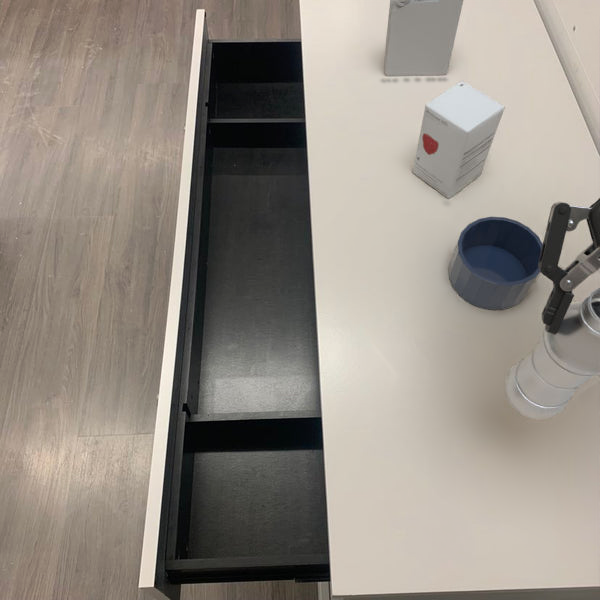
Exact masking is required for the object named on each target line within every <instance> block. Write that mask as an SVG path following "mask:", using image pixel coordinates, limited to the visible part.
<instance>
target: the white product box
mask: <svg viewBox="0 0 600 600" xmlns="http://www.w3.org/2000/svg"><path fill="white" fill-rule="evenodd" d="M505 109H506V107H505V106H504V105H503V104H501V103H500V102H498V101H496V100H495V99H493V98H491V97H490V96H488V95H487V94H486V93H485V92H484V91H481V90H478V89H476V88H475V87H474V86H472V85H470V84H468V83H466V82H465V81H463V80H460V81H459V82H457V83H456V84H454V85H453V86H452V87H450V88H448V89H447V90H445V91H444V92H443V93H441V94H439V95H438V96H436V97H434V98H432V100H430V101H428V102H427V103H426V104H425V106H424V110H423V117H422V121H421V122H422V123H421V126H420V131H419V136H418V142H417V148H416V152H415V156H414V161H413V162H414V163H413V167H412V174H414V175H416V177H418V178H419V179H421V180H422V181H424V182H425V183H426V184H427V185H429V186H430V187H432V189H434V190H436V191H437V192H438V193H440V194H441V195H442V196H444V197H445V198H446V199H451V198H453V197H454V196H455V195H457V194H458V193H459V192H460V191H462V190H463V189H464V188H466V187H467V186H468V185H469V184H471V183H472V182H473V181H474V180H476V179H477V178H478V177H480V176H481V175H482V173H483V170H484V166H485V164H486V161H487V158H488V156H489V152H490V150H491V147H492V144H493V142H494V139H495V136H496V133H497V131H498V128H499V125H500V121H501V119H502V116H503V113H504V111H505Z"/></svg>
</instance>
